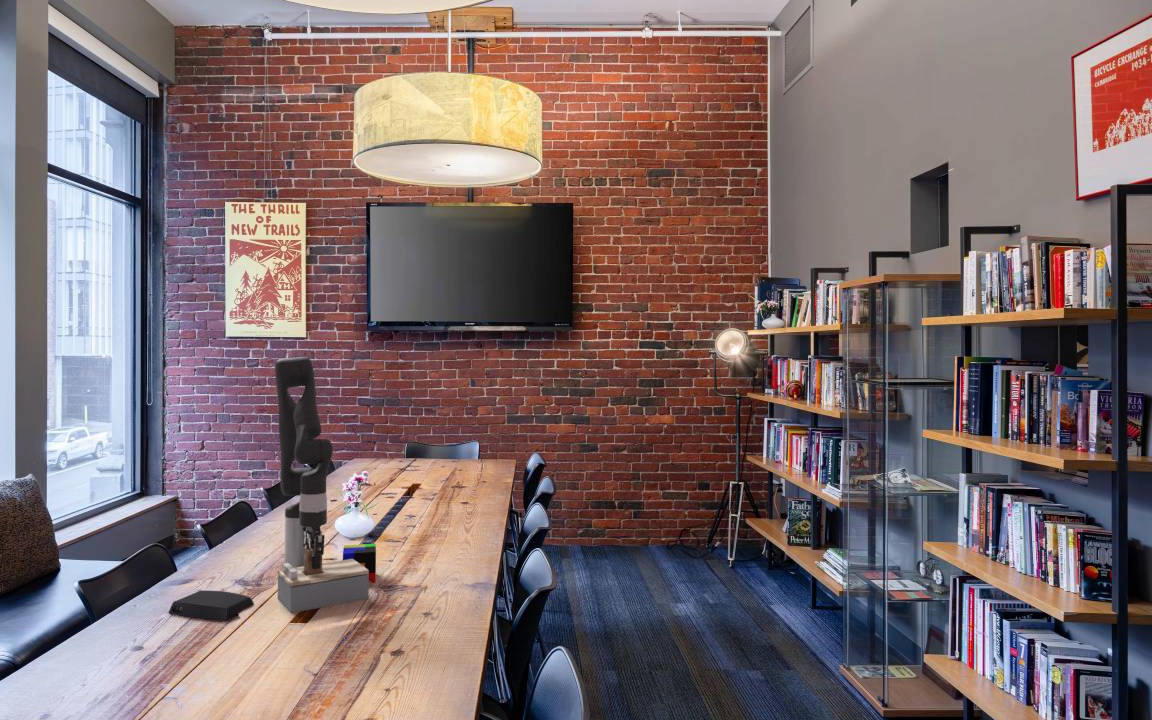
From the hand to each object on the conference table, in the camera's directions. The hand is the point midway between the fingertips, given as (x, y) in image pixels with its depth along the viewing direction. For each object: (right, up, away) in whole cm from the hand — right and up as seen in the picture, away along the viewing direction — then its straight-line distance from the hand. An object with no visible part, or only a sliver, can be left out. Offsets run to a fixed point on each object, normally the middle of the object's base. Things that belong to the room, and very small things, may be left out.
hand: (312, 566), depth 216 cm
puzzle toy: (+7, -11, +23) cm, 27 cm away
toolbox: (+2, -11, +2) cm, 11 cm away
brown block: (0, -10, 0) cm, 10 cm away
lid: (+2, -3, +2) cm, 4 cm away
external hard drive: (-26, -12, -6) cm, 29 cm away
